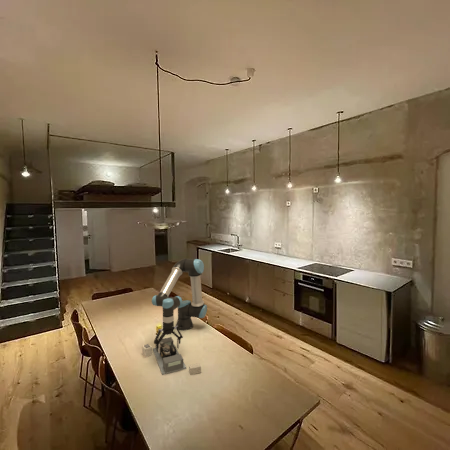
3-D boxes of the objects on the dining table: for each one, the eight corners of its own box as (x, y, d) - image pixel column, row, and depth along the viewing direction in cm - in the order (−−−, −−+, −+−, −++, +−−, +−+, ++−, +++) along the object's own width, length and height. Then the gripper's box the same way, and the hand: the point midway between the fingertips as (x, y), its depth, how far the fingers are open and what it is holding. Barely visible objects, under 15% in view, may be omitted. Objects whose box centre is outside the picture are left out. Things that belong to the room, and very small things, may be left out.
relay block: (148, 351, 197) (148, 342, 196) (152, 355, 192) (152, 346, 192) (142, 354, 194) (142, 345, 193) (145, 357, 189) (145, 348, 189)
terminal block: (199, 369, 175) (199, 363, 175) (201, 373, 171) (201, 366, 171) (189, 371, 172) (189, 365, 172) (190, 375, 169) (190, 368, 168)
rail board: (173, 345, 206) (173, 336, 206) (186, 368, 175) (186, 358, 175) (152, 349, 199) (152, 340, 199) (162, 375, 168) (162, 364, 168)
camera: (179, 360, 183) (179, 346, 183) (164, 364, 178) (164, 350, 177) (171, 350, 197) (171, 337, 196) (158, 354, 191) (158, 340, 191)
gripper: (183, 316, 195) (184, 343, 196) (149, 322, 184) (149, 351, 186) (186, 319, 188) (187, 348, 189) (151, 326, 178) (151, 357, 179)
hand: (168, 350), depth 187 cm, fingers open, 13 cm apart
